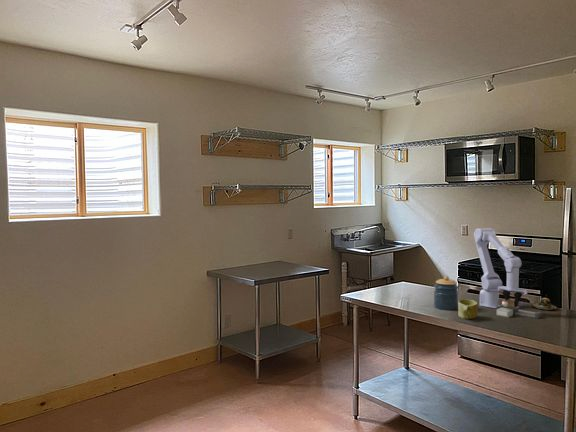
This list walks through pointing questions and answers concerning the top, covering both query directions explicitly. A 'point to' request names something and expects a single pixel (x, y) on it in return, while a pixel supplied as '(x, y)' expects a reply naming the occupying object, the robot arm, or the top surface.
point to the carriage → (512, 305)
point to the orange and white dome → (504, 303)
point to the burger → (544, 304)
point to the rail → (527, 313)
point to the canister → (446, 294)
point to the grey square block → (504, 312)
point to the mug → (467, 309)
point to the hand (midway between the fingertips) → (512, 305)
